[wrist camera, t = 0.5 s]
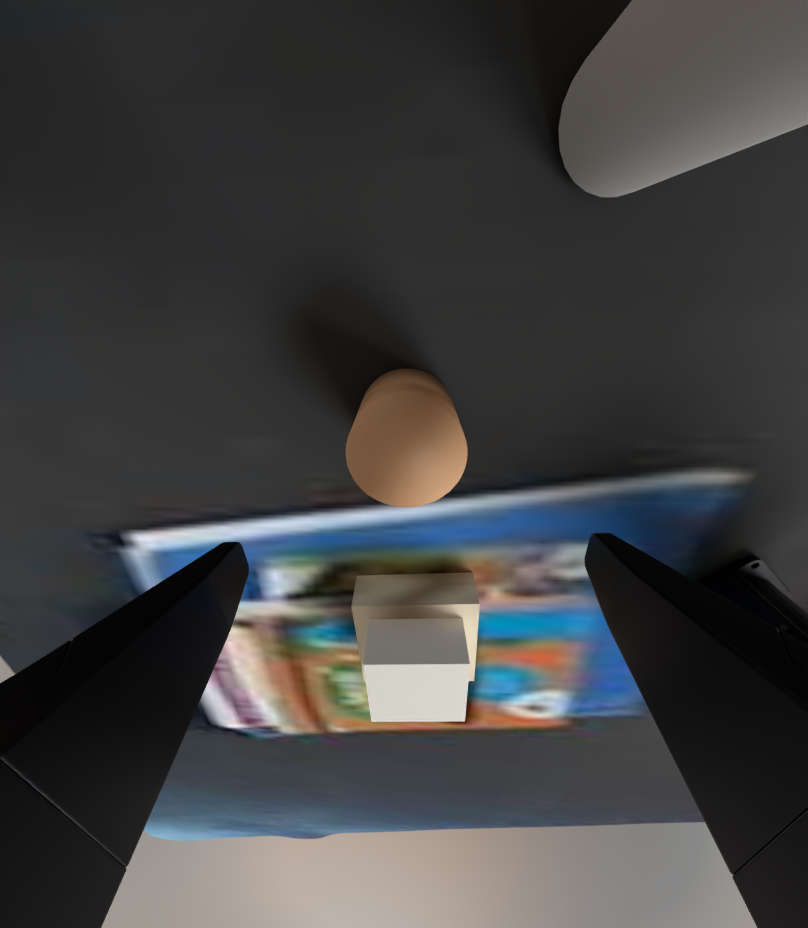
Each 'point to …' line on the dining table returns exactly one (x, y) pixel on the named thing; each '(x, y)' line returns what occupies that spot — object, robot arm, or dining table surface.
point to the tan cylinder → (406, 440)
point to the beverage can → (683, 89)
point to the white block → (416, 669)
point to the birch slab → (417, 603)
